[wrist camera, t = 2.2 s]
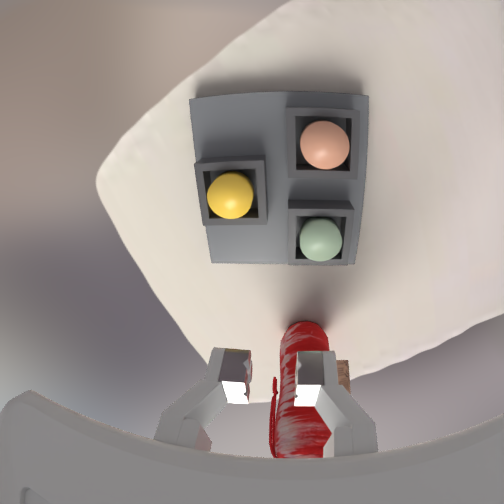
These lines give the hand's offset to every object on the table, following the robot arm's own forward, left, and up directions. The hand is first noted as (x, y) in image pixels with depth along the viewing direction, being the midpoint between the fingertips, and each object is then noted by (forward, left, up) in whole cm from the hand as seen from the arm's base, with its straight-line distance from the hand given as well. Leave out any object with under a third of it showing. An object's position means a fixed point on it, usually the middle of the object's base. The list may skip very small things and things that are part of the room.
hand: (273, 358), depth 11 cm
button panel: (0, 0, -23) cm, 23 cm away
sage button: (-4, +5, -20) cm, 21 cm away
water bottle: (-5, +25, -23) cm, 35 cm away
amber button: (+5, 0, -20) cm, 20 cm away
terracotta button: (-4, -5, -20) cm, 21 cm away
